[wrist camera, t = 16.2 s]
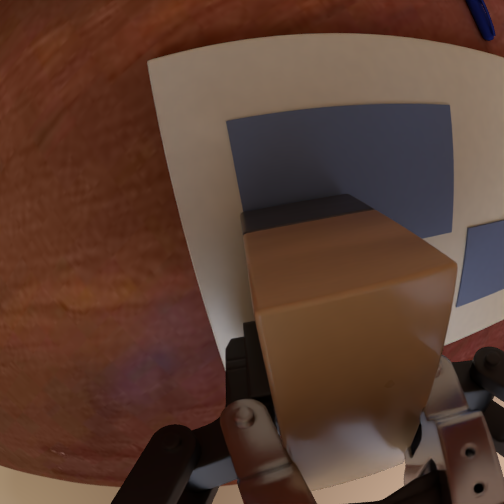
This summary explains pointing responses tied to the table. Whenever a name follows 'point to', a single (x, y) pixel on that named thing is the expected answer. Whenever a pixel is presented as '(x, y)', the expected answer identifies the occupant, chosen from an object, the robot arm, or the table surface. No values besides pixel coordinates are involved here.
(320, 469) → the eraser
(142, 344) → the table surface
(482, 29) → the ballpoint pen
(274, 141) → the board
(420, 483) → the robot arm
